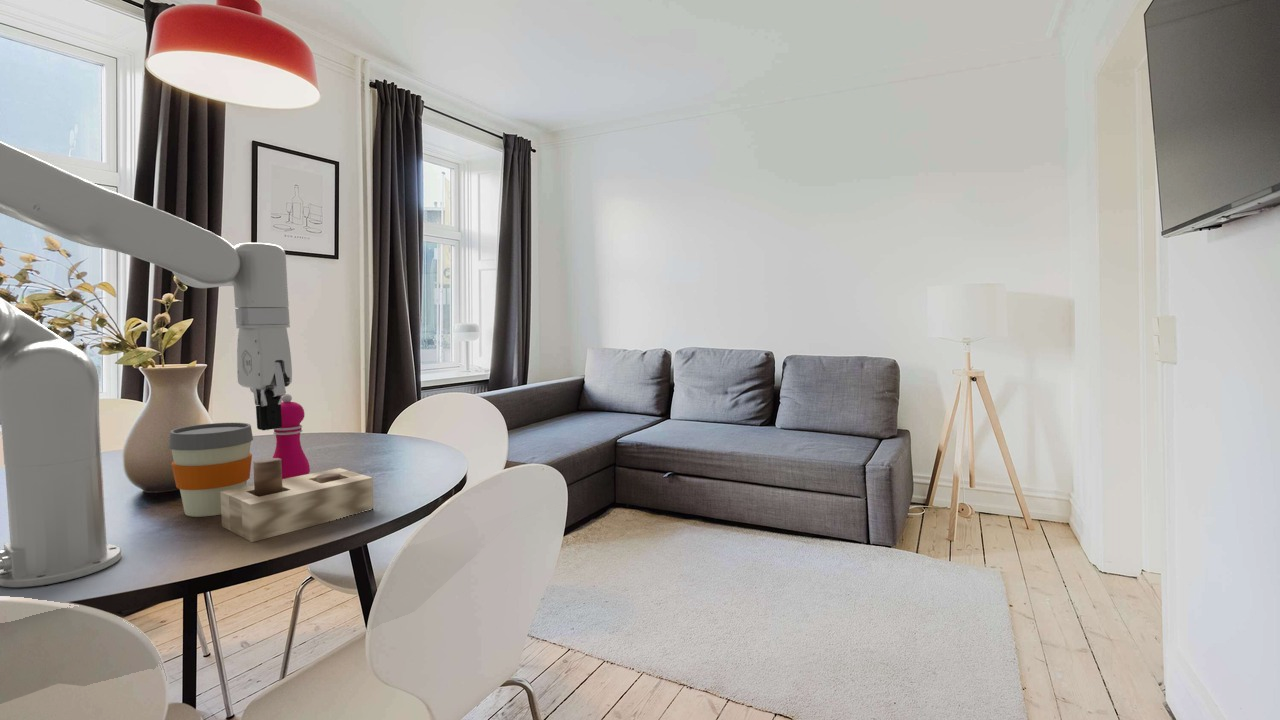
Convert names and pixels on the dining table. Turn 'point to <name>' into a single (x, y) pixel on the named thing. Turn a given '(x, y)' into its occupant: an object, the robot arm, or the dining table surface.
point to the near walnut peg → (267, 476)
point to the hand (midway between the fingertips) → (269, 428)
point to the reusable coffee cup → (210, 463)
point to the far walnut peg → (328, 477)
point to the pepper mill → (291, 440)
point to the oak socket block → (295, 504)
